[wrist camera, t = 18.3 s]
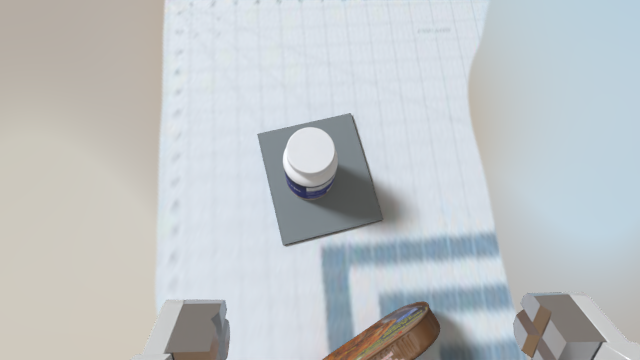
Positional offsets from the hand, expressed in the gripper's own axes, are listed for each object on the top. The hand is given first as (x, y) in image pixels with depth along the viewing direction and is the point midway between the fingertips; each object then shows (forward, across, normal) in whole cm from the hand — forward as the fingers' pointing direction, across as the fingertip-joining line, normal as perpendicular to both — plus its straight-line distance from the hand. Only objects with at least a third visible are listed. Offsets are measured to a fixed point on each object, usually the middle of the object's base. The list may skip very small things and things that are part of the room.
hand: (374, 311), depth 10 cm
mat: (+33, 0, +14) cm, 36 cm away
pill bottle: (+33, +1, +14) cm, 36 cm away
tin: (+20, -4, +28) cm, 34 cm away
